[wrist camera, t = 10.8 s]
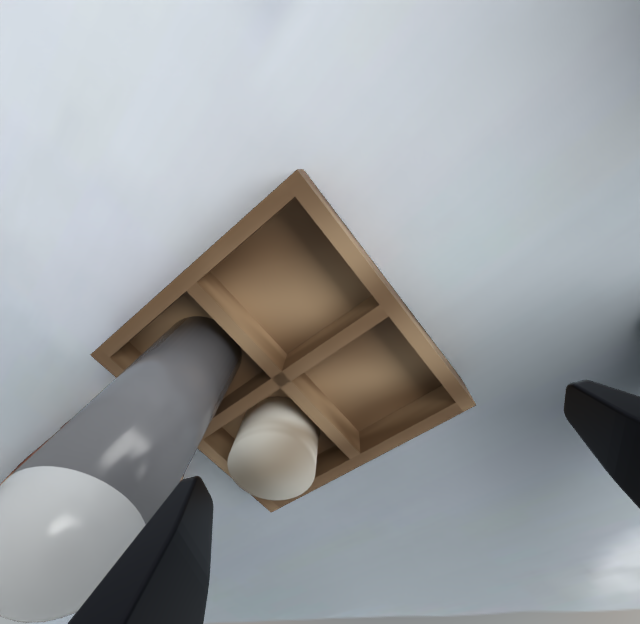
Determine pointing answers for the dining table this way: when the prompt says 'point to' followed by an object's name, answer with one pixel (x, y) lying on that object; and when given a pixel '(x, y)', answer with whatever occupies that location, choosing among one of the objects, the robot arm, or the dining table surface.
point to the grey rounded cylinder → (109, 471)
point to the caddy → (301, 349)
